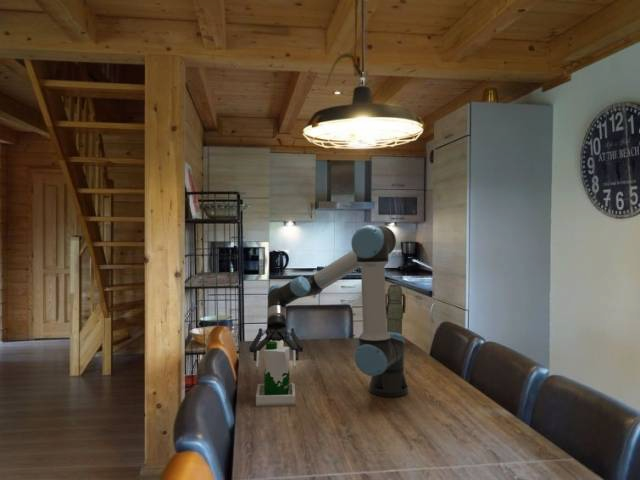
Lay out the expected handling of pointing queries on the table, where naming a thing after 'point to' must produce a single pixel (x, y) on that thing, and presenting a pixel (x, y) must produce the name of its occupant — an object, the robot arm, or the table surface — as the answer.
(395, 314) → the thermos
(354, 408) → the table surface
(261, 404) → the square holder
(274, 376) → the soya milk
